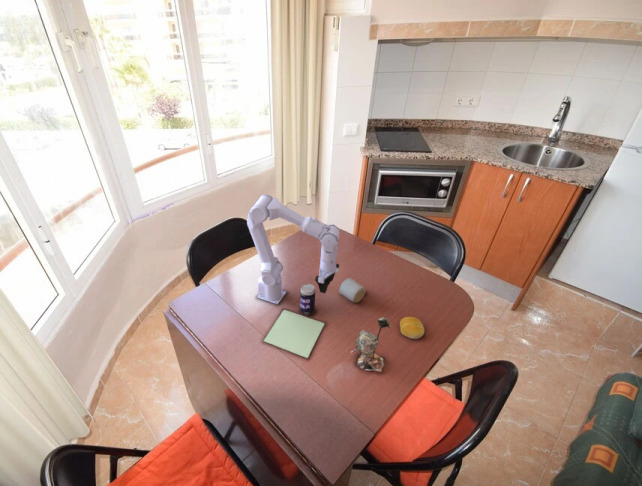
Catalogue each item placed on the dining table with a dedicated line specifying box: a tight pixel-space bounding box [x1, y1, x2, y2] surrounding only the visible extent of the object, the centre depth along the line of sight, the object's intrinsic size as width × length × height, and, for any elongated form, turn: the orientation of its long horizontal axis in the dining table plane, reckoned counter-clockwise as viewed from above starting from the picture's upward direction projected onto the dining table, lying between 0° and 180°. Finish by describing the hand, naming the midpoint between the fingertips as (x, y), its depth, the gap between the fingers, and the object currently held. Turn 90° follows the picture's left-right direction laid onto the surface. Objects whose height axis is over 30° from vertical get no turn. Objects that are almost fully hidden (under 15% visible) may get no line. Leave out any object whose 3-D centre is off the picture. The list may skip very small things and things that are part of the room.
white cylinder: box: [338, 277, 367, 304], centre depth 131 cm, size 11×8×8 cm
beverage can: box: [299, 283, 316, 316], centre depth 124 cm, size 6×6×12 cm
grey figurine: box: [350, 317, 391, 373], centre depth 102 cm, size 8×11×20 cm
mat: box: [263, 309, 325, 359], centre depth 118 cm, size 17×17×1 cm
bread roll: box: [399, 316, 425, 340], centre depth 116 cm, size 8×9×4 cm
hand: (326, 286), depth 123 cm, fingers open, 7 cm apart
